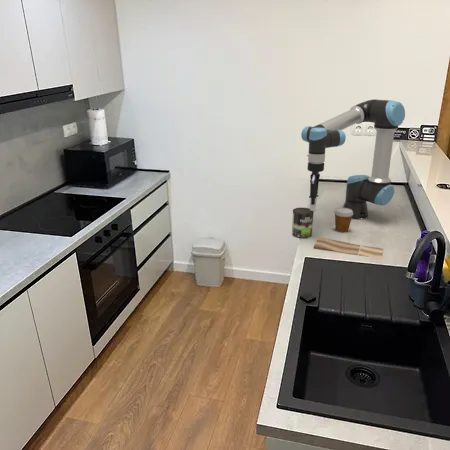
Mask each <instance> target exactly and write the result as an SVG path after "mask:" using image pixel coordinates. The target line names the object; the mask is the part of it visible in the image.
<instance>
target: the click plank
mask: <svg viewBox="0 0 450 450" xmlns="http://www.w3.org/2000/svg"><path fill="white" fill-rule="evenodd" d="M360 248H361V244H356V243H350V242H346V241H341V240H335V239H330V238H325V237H321V236H318V238H317V239H316V241H315V242H314V245H313V249H315V250H320V251H327V252H334V253H341V254H348V255H354V256H359V252H360Z"/></svg>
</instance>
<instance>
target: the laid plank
mask: <svg viewBox="0 0 450 450" xmlns="http://www.w3.org/2000/svg"><path fill="white" fill-rule="evenodd" d="M383 254H384V248H381V247H375V246H367V245H361V244H360V249H359V252H358V256H359V257H366V258H371V259H381V260H382V259H383Z"/></svg>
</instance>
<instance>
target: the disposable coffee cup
mask: <svg viewBox="0 0 450 450" xmlns="http://www.w3.org/2000/svg"><path fill="white" fill-rule="evenodd" d="M333 213H334V226H335V227H334V228H335V232H338V233H349V229H350V226H351V222H352V215H353V211H352V210H351V209H348V208H342V207H337V208H335V210H334V212H333Z"/></svg>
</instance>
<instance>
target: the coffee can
mask: <svg viewBox="0 0 450 450" xmlns="http://www.w3.org/2000/svg"><path fill="white" fill-rule="evenodd" d="M314 213H315V211H311V210H310V207H296V208H293V209H292V225H291V226H292V227H291V236H292V237H293V238H297V239H303V240H304V239H309V238H311V237H312V235H313V223H314Z"/></svg>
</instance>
